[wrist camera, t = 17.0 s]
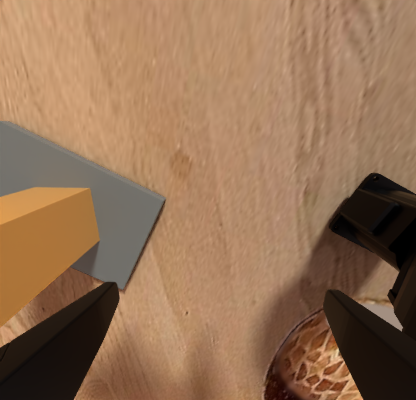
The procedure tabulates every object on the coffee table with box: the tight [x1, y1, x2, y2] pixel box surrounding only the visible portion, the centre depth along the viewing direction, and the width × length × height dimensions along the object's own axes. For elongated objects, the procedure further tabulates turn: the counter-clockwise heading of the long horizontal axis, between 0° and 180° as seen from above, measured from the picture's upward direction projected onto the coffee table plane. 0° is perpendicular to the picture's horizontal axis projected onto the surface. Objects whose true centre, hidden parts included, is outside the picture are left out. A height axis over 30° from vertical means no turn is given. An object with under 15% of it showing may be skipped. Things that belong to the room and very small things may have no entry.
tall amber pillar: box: [0, 187, 100, 327], centre depth 15 cm, size 6×6×12 cm
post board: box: [0, 121, 166, 290], centre depth 19 cm, size 16×12×4 cm
